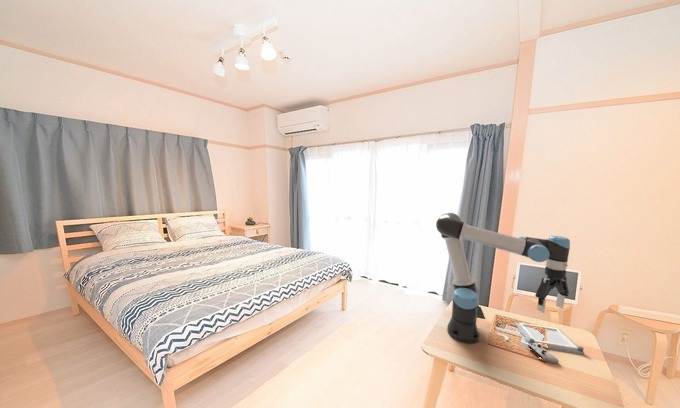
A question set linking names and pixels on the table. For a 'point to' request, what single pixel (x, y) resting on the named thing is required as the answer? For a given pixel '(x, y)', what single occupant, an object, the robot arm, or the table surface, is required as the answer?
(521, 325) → the chassis
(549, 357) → the gaming controller
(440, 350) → the table surface
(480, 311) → the smartphone
